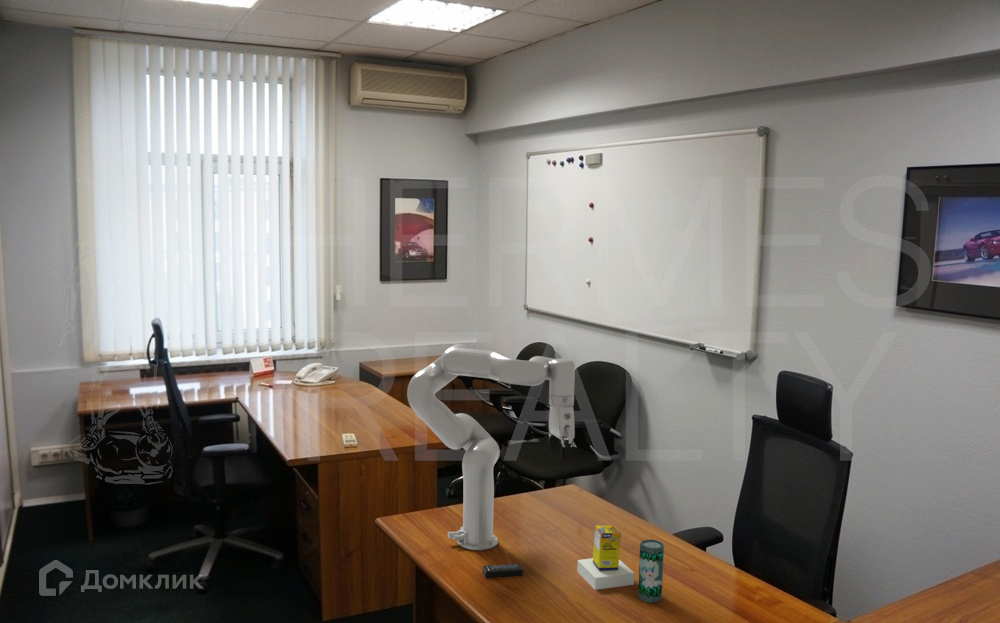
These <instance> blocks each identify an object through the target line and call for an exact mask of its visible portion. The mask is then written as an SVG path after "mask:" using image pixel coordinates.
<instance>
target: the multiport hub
mask: <svg viewBox="0 0 1000 623" xmlns="http://www.w3.org/2000/svg"><path fill="white" fill-rule="evenodd" d="M523 573H524V569H523V567H522V565H521V563H508V564H505V563H504V564H489V565H488V564H487V565H483V566H482V575H483V574H484V575H483V577H484V576H485V577H484V579H485V578H491V579H498V578H497V577H506V578H517V577H523V575H524V574H523Z"/></svg>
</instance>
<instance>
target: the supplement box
mask: <svg viewBox="0 0 1000 623" xmlns="http://www.w3.org/2000/svg"><path fill="white" fill-rule="evenodd" d="M621 535H622V533H621V531H620V530H619V529H618V528H617V527H616V526H615V525H611V524H610V525H607V524H606V525H603V524H602V525H601V524H599V525H594V536H593V551H592V558H593V563H594V564H595V566H596V567H597V568H598V570H618V566H619V560H620V549H621Z"/></svg>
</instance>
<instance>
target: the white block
mask: <svg viewBox="0 0 1000 623" xmlns="http://www.w3.org/2000/svg"><path fill="white" fill-rule="evenodd" d="M576 561H577V566H576V572H577V573H578V574H579V575H580V576H581V577H582V578H583V579H584V580H585V581H586V582H587V584H589V585H590V586H591V587H592V589H593V590H595V591H597V590H605V589H610V588H611V589H613V588H617V587H618V588H619V587H626V586H633V585H635V572H634V571H633V570H631V569H630V567H628V566H627V565H626V564H625V563H624V562H623V561H622V560H621V559H619V566H618V570H598V568H597V567H596V566H595V564H594V563H593V557H591V558H584V559H577V560H576Z"/></svg>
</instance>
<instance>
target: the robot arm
mask: <svg viewBox="0 0 1000 623" xmlns="http://www.w3.org/2000/svg"><path fill="white" fill-rule="evenodd" d="M575 372H576V363H575V362H574V360H572V359H569V358H554V357H553V358H552V357H547V356H541V355H535V356H532V357H531V358H530V359H529V360H524V359H523V360H522V359H517V358H516V359H515V358H510V357H505V356H502V355H501V354H499V353H498V352H497V351H493V350H487V349H478V348H475V349H474V348H470V347H469V346H468V345H466V344H464V343H456V344H454V345H453V346H450V347H449V348H446V350H445V351H443V353H442V355H441V356H439V357H438V358H437V359H435V360H434V361H433V362H431V364H429V365H428V366H426V367H425V368H423V369H421V370H419V371H417V372H416V373H415V374H414V375H413V376H412V378H411V379H410V381H409V383H408V386H407V391H406V392H407V393H406V397H407V401H408V404H409V407H410V408H411V410H412V411H413V412H414V414H415V415H416V416H418V418H420V420H421V421H423V423H425V425H426V426H427V427H428V428H429V429H430V430H431V432H432V433H434V435H435V436H437V437H438V439H439V440H441V442H442V443H443V444H444V445H445V446H446V447H448V448H449V449H451V450H454V451H456V450H460V449H462V448H463V450H465V453H464V455H463V457H462V460H461V461H462V462H461V469H462V478H463V479H462V480H463V481H462V482H463V487H462V488H463V490H462V491H463V493H462V494H463V498H462V499H463V500H462V501H463V503H462V504H463V505H462V526H460V528H459V529H458V530H457V531H448V532H447V538H448V539H453V541H457V543H458V546H460V547H462V548H463V549H467V550H470V551H486V550H490V549H493V548H494V547H496V546H498V544H499V543H498V542H499V540H498V537H497V536H496V535H495V534H494V507H495V506H494V502H495V501H494V498H495V497H494V496H495V490H494V489H495V483H494V482H495V481H494V466H495V464H496V463H497V462H498V459H499V458H500V454H501V452H500V447H499V444H498V443H497V441H496V440H495V438H493V437H492V436H491V434H490V433H489V432H487V431H486V429H485V428H484V427H483V426H481V424H480V423H479V422H478V421H477V420H476V419H474V418H473V417H472V416H471V415H469V414H467V413H463V412H460V413H454V412H452V410H451V409H450V408H449V407H448V406H447V405H446V404H445V403H444V402H443V401H441V400H439V399H438V397H437V396H436V393H438V392H439V391H440V390H442V389H443V388H445V387H446V386H447V385H448V384H450V382H452V381H453V380H454V379H456V378H457V377H458V376H466V377H473V378H474V377H475V378H480V379H481V378H483V379H490V380H493V381H497V382H500V383H501V382H502V383H505V384H511V385H518V386H519V385H520V386H529V387H530V386H531V387H535V386H539V385H541V384H543V383H544V382H545V381H546V380H547V381H549V387H548V388H549V389H548V391H549V392H548V405H549V416H548V432H549V433H548V451H550V452H554V451H555V452H556V451H559V450H560V460H562V461H569V460H570V461H571V460H572V453H573V452H572V448H573V442H574V439H575V433H576V432H575V411H574V406H575V403H574V402H575V380H576V379H575V378H576V376H575V375H576V374H575ZM560 441H561V442H560ZM560 443H561V446H560Z"/></svg>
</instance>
